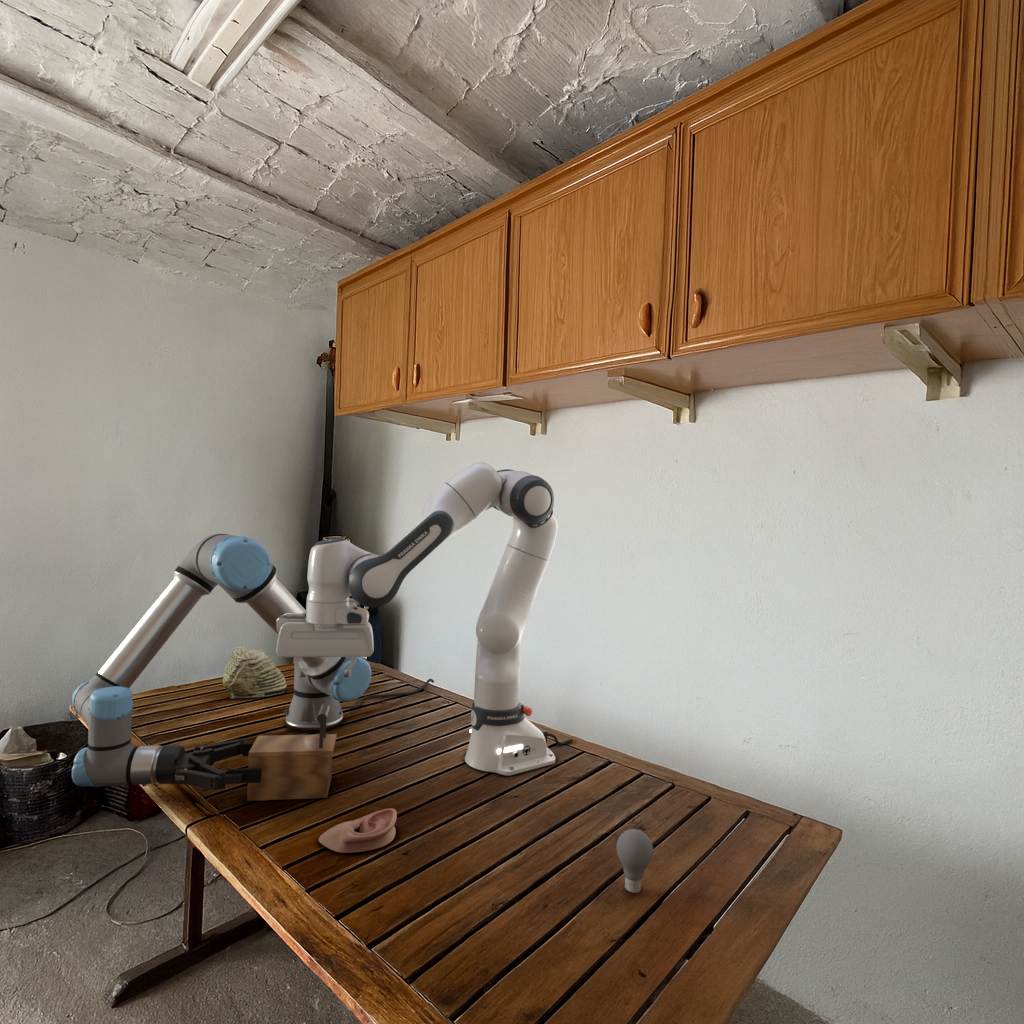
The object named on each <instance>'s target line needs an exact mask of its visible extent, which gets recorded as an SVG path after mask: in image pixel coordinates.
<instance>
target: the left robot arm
mask: <svg viewBox="0 0 1024 1024" xmlns="http://www.w3.org/2000/svg"><path fill="white" fill-rule="evenodd" d="M277 574H278V569H277V567H276V566H275V565H274V564H273V563H272V561H271V556H270V554H269V552H268V551H267V548H265V547H264V546H263V545H262V544H261V543H260V542H258V541H256V540H255V539H253V538H251V537H247V536H241V535H232V534H227V533H216V534H215V533H213V534H210V535H209V536H205V537H204V538H203V539H201V540H200V541H198V543H196V544H195V545H194V547H192V548H191V550H190V551H189V552H188V553H187V554H186V556H185V557H184V559H182V560H181V562H180V563H179V564H178V566H177V567H176V568H175V569H174V570H173V579H172V580H171V581H170V583H169V584H168V585H167V586H166V587H165V589H164V590H163V591H162V592H161V593H160V595H159V596H158V597H157V599H156V600H155V601H154V602H153V604H152V605H151V606H149V608H148V609H147V611H146V612H144V613H145V614H143V616H142V617H141V618H140V619H139V621H138V622H136V624H135V625H134V626H133V628H132V629H131V630H130V632H129V633H128V634H127V635H126V636H125V637H124V639H123V640H122V641H121V643H120V644H119V645H118V647H116V648H115V651H113V653H112V654H110V656H109V658H108V659H107V660H106V661H105V662H104V663H103V665H102V666H101V667H100V669H99V670H98V671H97V672H96V673H95V674H94V676H92V677H91V679H89V680H86V681H84V682H83V683H81V684H80V685H78V686H77V687H76V689H75V690H74V691H73V693H72V696H71V697H72V698H71V704H72V706H73V709H74V711H75V713H76V715H78V716H79V717H81V719H82V720H83V722H84V723H85V724H86V725H87V729H88V732H87V733H88V734H87V735H88V736H87V738H88V739H87V747H83V748H81V749H80V750H79V751H78V752H77V753H76V755H75V757H74V759H73V765H72V767H71V779H72V782H73V783H74V784H75V785H76V786H78V787H96V788H102V787H114V786H116V787H117V786H119V787H120V786H139V785H140V786H141V787H146V786H148V785H155V784H156V783H157V784H159V785H175V784H176V785H188V786H193V787H197V788H202V789H207V790H211V791H218V790H225V789H226V785H231V784H235V785H236V784H248V783H261V774H262V768H248V767H246V768H227V769H226V771H225V770H223V769H220V768H217V767H215V766H213V765H215V763H217V762H220V761H221V762H222V761H225V760H228V759H231V758H234V757H238V756H241V755H242V757H249V751H250V749H251V748H252V746H253V744H254V742H245V738H237V739H231V740H227V741H222V742H221V741H220V742H216V743H215V742H214V743H211V744H203V745H202V744H201V745H195V746H194V750H193V751H189V752H187V751H186V749H185V747H184V745H182V744H171V745H170V744H167V745H164V746H162V745H160V744H157V745H155V744H154V745H136V746H135V745H132V725H133V709H134V701H133V691H132V689H130V688H131V687H132V685H133V684H134V683H135V682H136V680H138V678H139V677H140V675H141V674H142V673H143V672H144V670H145V669H146V668H147V667H148V666H149V664H150V663H151V662H152V661H153V659H154V658H155V657H156V655H157V654H158V653H159V652H160V650H161V649H162V648H163V647H164V645H165V644H166V643H167V642H168V640H169V639H170V638H171V636H172V635H173V634H174V633H175V632H176V630H177V629H178V628H179V626H180V625H181V624H182V622H183V621H184V620H185V619H186V618H187V616H188V615H189V613H190V612H191V611H192V610H193V609H194V607H195V606H196V605H197V604H198V602H199V601H200V600H201V598H202V597H203V596H207V595H210V594H211V593H212V591H213V590H214V589H215V588H216V587H217V586H219V587H220V588H221V589H222V590H224V592H225V593H226V594H227V595H229V597H230V598H231V599H232V600H233V601H234V602H236V603H237V604H247V605H248V606H249V607H250V608H251V609H252V610H253V611H254V612H255V613H256V614H257V615H258V616H259V618H261V619H262V620H263V621H264V623H266V624H267V625H268V626H269V627H270V629H272V630H273V631H274V633H276V635H278V636H279V632H278V631H277V628H276V627H277V619H278V618H279V617H280V616H281V615H284V614H285V613H306V609H305V608H304V606H302V604H301V603H300V602H299V601H298V600H297V599H296V598H295V597H294V596H293V594H291V593H290V591H288V589H287V588H286V587H285V586H284V585H283V584H282V583H281V582H280V581H279V579H278V578H277V576H278V575H277ZM282 618H284V617H282ZM300 663H301V665H302V667H303V668H307V671H306V673H307V674H306V677H302V678H299V677H298V673H299V670H298V669H297V667H296V666H295V665H294V672H293V695H292V696H293V697H292V699H291V702H290V704H289V708H287V709H285V710H284V711H283V716H285V726H286V728H287V729H289V730H291V731H294V732H295V731H296V732H301V733H316V732H320V722H318V721H317V716H318V714H319V711H320V708H321V706H322V705H323V704H325V703H326V704H329V706H330V710H329V713H328V717H327V720H326V731H329V730H332V729H335V728H337V727H339V726H340V725H342V723H343V722H344V713H343V710H350V709H357V708H360V706H361V705H362V702H363V701H364V700H365V701H366V700H369V699H377V698H390V697H402V696H410V695H414V694H417V693H419V692H420V691H422V690H423V689H425V688H426V687H427V686H428V685H429V684H430V682H431V683H435V680H434V679H432V678H429V679H427V680H426V681H425V682H424V684H423V685H421V686H420V687H418V688H417V689H415V690H412V691H407V692H406V691H405V692H395V693H393V692H392V693H384V694H371V695H366V696H363V697H362V695H364V693H366V691H367V689H368V688H369V686H370V683H371V677H372V668H371V665H370V663H369V662H368V661H367V660H366V659H365V658H364V657H357V661H356V663H355V665H354V666H353V668H352V669H351V677H344V668H345V667H349V665H350V664H351V662H350V657H302V659H301V661H300ZM360 697H361V698H360ZM359 698H360V699H359ZM358 699H359V700H358ZM357 700H358V703H357V704H354V705H343V706H341V702H343V703H350V702H353V701H357Z"/></svg>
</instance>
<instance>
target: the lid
mask: <svg viewBox="0 0 1024 1024" xmlns="http://www.w3.org/2000/svg"><path fill="white" fill-rule="evenodd" d="M329 710H330V706H329V704H326V703H325V704H323V705H322V706H321V708H320V711H319V714H318V716H317V721H318V722H320V731H319V734H281V735H279V734H277V735H273V734H271V735H258V736H257V737H256V739H255V740H254V742H253V743H254V744H253V746H252V748H251V749H250V751H249V756H248V757H263V756H299V755H332V756H333V754H334V751H335V745H336V741H337V739H338V738H337V736H338V735H337V733H327V730H326V720H327V717H328V713H329Z"/></svg>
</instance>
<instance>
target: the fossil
mask: <svg viewBox="0 0 1024 1024" xmlns="http://www.w3.org/2000/svg"><path fill="white" fill-rule="evenodd" d="M222 676H223V677H222V685H223V687H224V688H225V690H226V691H228V693H229V698H230V699H250V698H264V697H271V696H275V695H281V694H284V693H285V691H286V689H287V687H288V686H287V680H286V678H285V676H284V674H283V673H282V672H281V669H279V668H278V667H277V665H276V663H275V662H274V660H273V659H272V658H271V657H270V656H269V655H268V654H267V653H266V652H265V650H264V649H263V648H260V647H258V648H251V647H247V646H246V647H245V646H238V647H237V648H236V649H235V650H233V651H232V653H231V656H230V657H229V659H228V660H227V663H226V666H225V668H224V671H223V675H222Z"/></svg>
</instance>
